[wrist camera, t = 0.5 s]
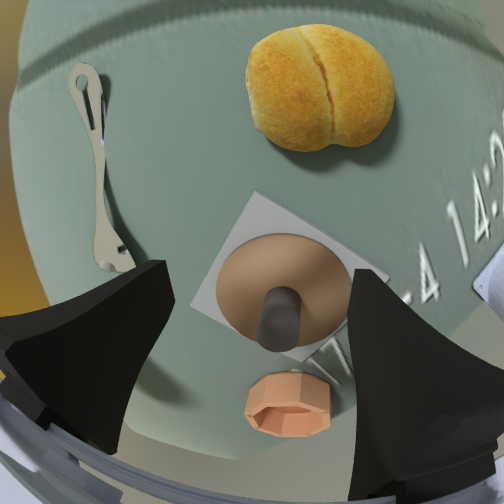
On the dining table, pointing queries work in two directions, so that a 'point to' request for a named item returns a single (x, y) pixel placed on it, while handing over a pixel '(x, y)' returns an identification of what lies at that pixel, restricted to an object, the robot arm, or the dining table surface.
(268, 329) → the lid
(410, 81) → the dining table surface
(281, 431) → the bowl
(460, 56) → the dining table surface
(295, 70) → the bread roll
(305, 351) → the mat
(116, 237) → the silver metal utensil
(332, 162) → the dining table surface
